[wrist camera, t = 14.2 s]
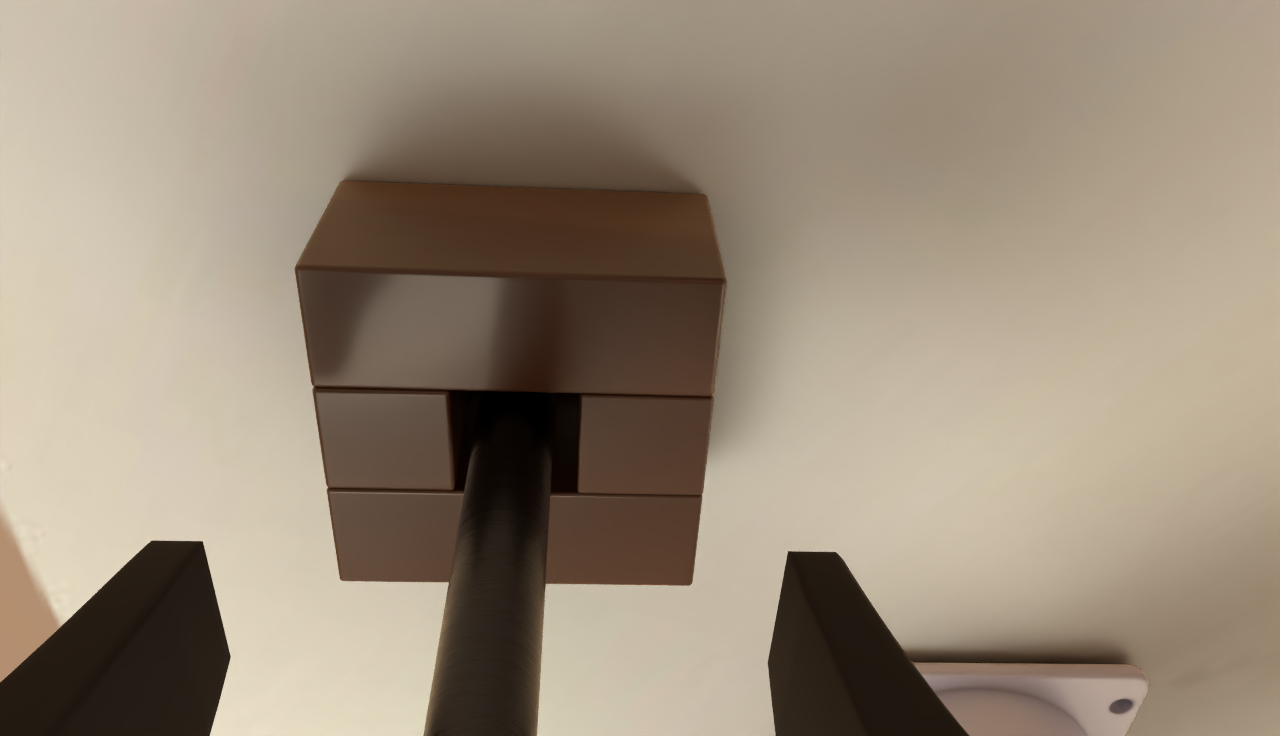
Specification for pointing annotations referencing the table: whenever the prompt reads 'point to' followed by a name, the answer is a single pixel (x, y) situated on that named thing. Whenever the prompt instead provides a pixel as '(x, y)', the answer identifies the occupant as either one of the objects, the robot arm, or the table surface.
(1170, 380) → the table surface
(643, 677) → the table surface
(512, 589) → the stylus
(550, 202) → the dock
